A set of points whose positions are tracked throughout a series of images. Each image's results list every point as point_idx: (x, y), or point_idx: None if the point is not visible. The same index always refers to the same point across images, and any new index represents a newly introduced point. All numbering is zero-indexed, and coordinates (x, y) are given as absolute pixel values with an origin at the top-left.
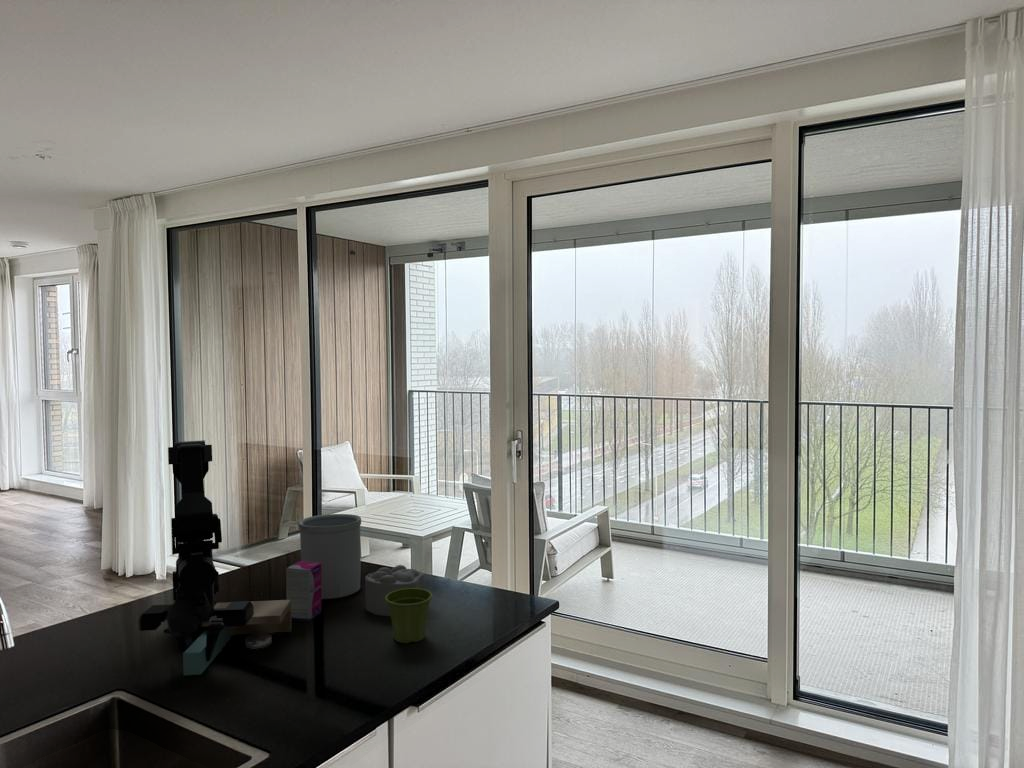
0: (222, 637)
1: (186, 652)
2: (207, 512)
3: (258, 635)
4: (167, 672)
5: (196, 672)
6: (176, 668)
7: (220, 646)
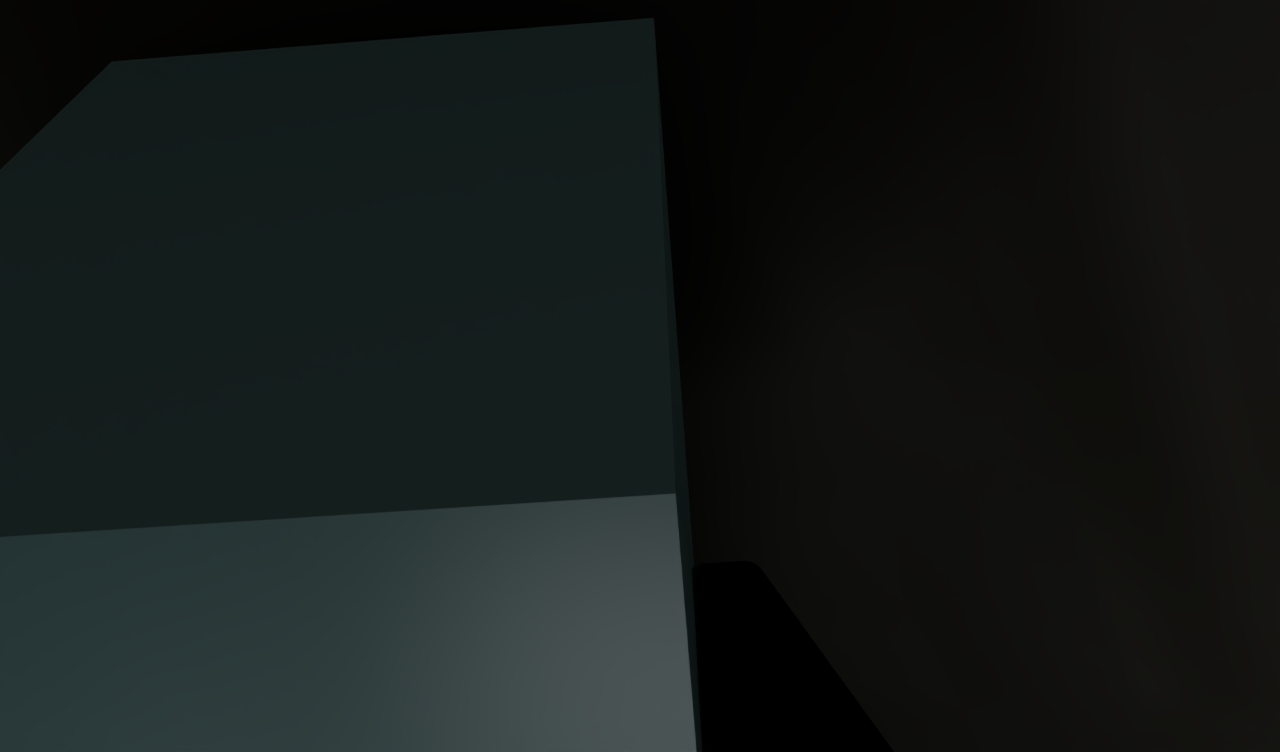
0: None
1: (512, 586)
2: None
3: None
4: (1244, 330)
5: (224, 75)
6: (1067, 514)
7: None
